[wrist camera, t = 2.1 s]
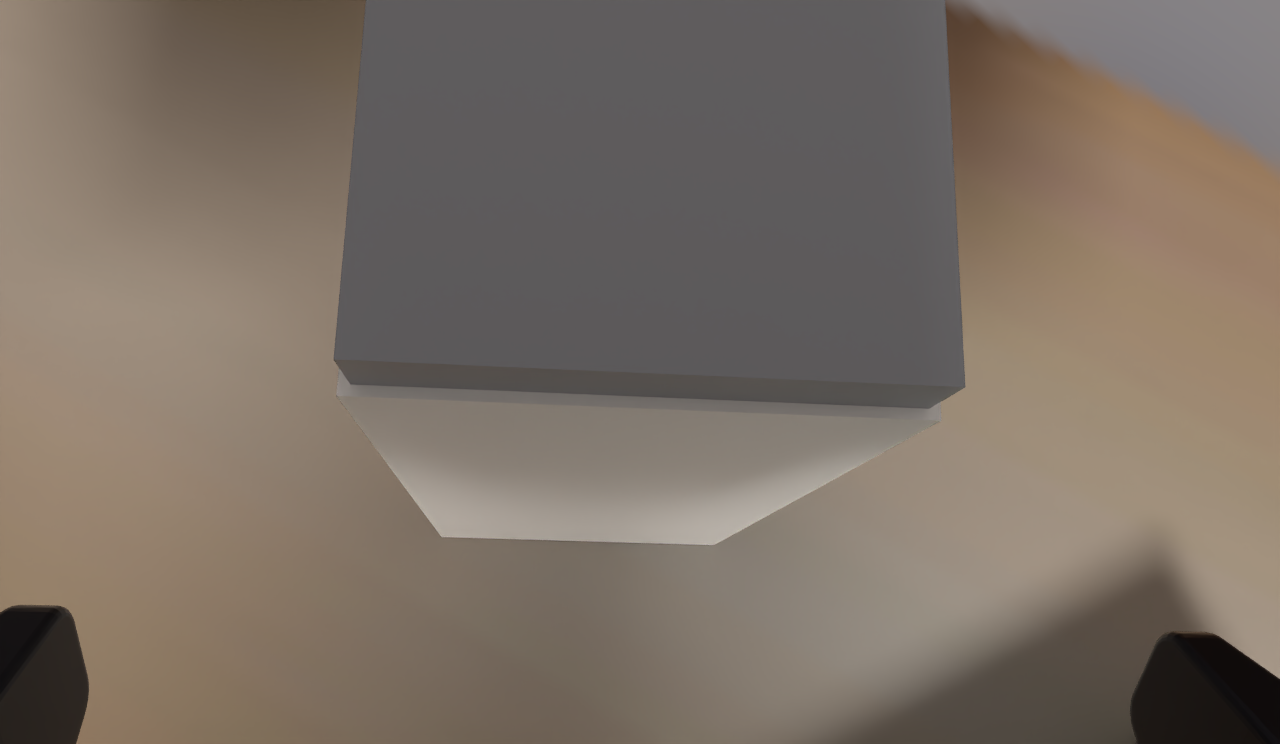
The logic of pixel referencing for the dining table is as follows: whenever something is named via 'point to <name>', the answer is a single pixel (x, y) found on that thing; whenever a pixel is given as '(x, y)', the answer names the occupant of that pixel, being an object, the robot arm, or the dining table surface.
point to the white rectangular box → (646, 257)
